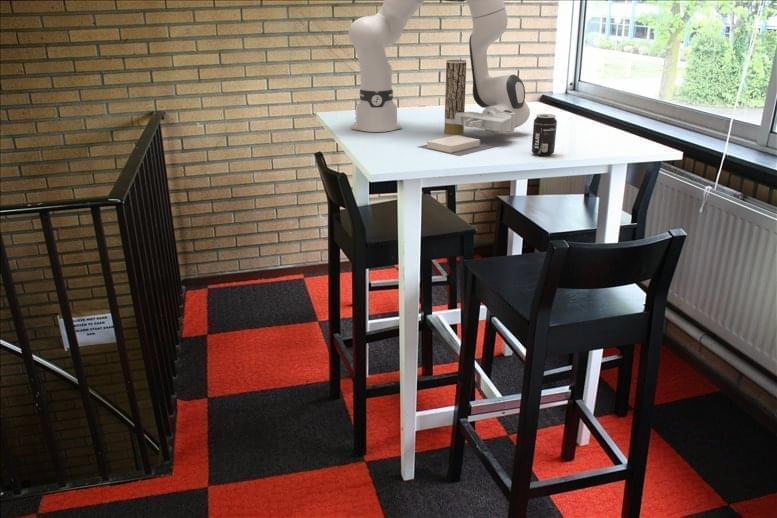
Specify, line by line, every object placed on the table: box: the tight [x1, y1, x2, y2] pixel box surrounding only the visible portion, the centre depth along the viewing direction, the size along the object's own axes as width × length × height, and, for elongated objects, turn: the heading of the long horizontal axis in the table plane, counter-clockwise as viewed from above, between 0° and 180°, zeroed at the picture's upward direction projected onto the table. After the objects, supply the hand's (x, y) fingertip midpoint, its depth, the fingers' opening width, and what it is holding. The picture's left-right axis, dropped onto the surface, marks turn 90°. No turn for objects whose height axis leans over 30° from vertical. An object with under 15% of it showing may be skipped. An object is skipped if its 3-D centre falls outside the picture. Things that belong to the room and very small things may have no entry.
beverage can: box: [531, 113, 558, 157], centre depth 201 cm, size 7×7×12 cm
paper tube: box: [443, 59, 467, 136], centre depth 228 cm, size 7×7×25 cm
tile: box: [426, 135, 481, 154], centre depth 211 cm, size 2×10×14 cm
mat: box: [417, 141, 500, 157], centre depth 213 cm, size 20×18×1 cm
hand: (467, 124), depth 213 cm, fingers closed
